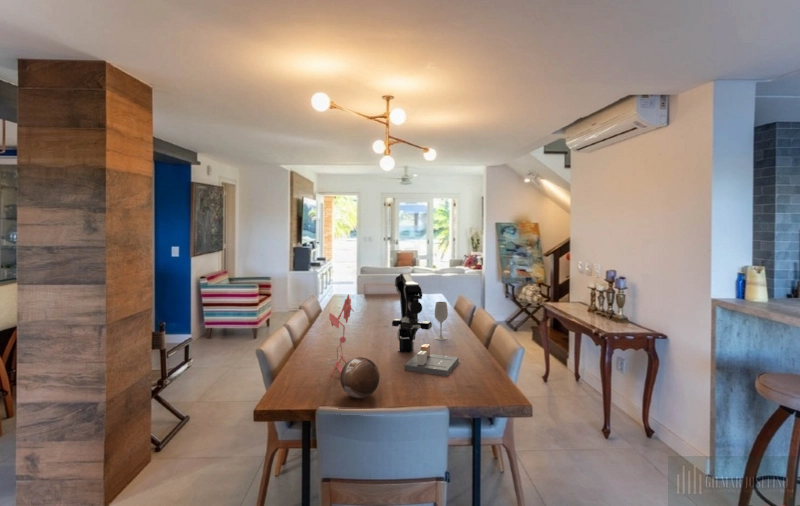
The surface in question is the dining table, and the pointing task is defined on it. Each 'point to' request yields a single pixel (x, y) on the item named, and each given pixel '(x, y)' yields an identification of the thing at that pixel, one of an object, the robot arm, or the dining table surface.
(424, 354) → the white fader
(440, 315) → the wineglass
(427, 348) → the orange fader
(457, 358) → the console board
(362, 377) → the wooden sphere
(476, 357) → the dining table surface
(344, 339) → the figurine
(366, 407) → the dining table surface
